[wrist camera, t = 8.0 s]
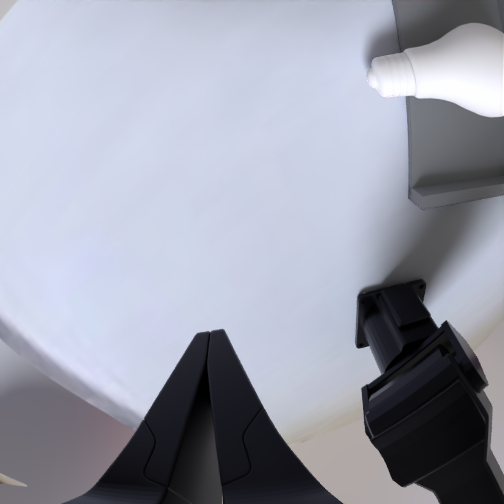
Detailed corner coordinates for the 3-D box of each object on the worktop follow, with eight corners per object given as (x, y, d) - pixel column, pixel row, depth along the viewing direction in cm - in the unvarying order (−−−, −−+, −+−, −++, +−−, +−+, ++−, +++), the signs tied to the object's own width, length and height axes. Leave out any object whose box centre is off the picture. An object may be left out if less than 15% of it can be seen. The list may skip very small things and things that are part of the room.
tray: (506, 182, 21) (520, 191, 19) (408, 198, 21) (421, 210, 19) (495, -20, 11) (511, -22, 10) (379, -49, 12) (393, -57, 10)
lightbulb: (364, 38, 12) (544, 38, 8) (347, 25, 16) (493, 18, 12) (386, 147, 16) (543, 133, 12) (368, 106, 20) (500, 95, 16)
